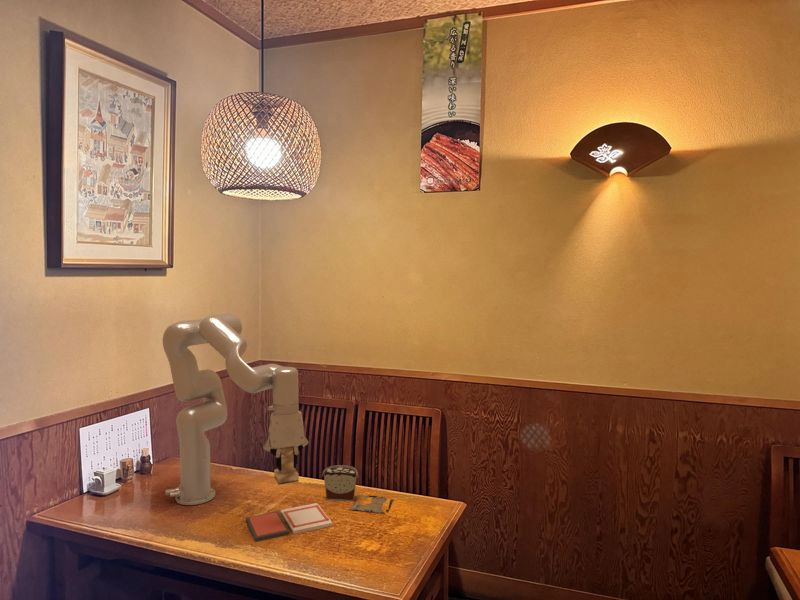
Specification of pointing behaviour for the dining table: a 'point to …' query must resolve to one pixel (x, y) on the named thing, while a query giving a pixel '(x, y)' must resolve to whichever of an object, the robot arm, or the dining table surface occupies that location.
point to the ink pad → (267, 526)
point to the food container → (340, 482)
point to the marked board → (306, 518)
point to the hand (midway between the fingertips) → (286, 467)
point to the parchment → (371, 504)
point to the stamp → (286, 467)
